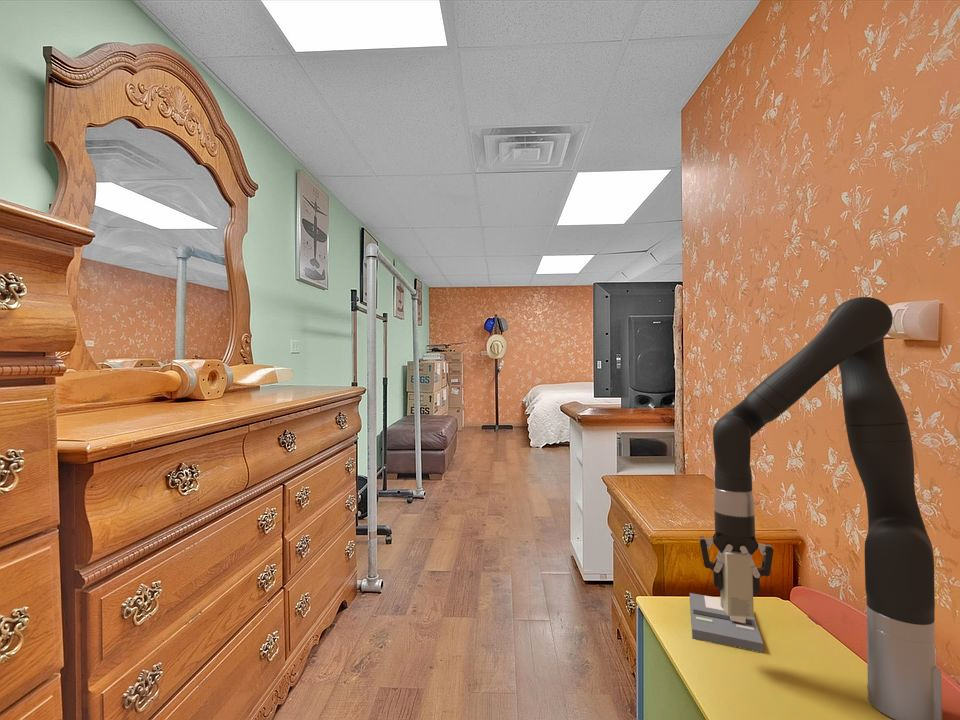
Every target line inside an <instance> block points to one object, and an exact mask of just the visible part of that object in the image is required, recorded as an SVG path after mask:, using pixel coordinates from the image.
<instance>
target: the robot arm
mask: <svg viewBox="0 0 960 720" xmlns="http://www.w3.org/2000/svg"><path fill="white" fill-rule="evenodd" d="M893 319H894V317H893V313H892V310H891V308H890V307H889V305H888V304H887V303H885V302H884V301H882V300H881V299H878V298H875V297H870V296H858V297H854V298H851V299H848V300H846V301H843V302H842V303H841V304H839V305H838V306H837V307H836V308H835V309H834V311H832V312H831V314H830V315H829V318H828V320H827V322H826V324H825V325H824V326H823V327H822V328H821V330H820V331H819V332H818V333H817V334H816V335H815V337H813V338H812V339H811V340H810V341H809V342H808V343H807V344H806V345H805V346H804V347H803V348H802V349H801V350H799V351H798V352H797V353H796V354H795V355H794V356H792V357H791V358H790V359H789V360H788V361H786V362H785V363H783V364H782V365H781V366H780V367H778V368H777V369H776V370H774V371H773V372H772V373H770V375H768V376H767V377H766V378H765V379H764V380H763V381H761V382H760V383H759V384H758V385H757V386H755V387H754V389H752V390H751V391H750V392H749V393H748V394H747V395H746V397H745V398H744V399H743V400H742V401H740V402H739V403H738V404H736V405H735V406H734V407H733V408H731V409H730V410H729V411H727V412H726V413H725V414H724V415H722V416H721V418H719V419H718V420H717V421H716V422H715V424H714V426H713V429H712V443H713V452H714V453H713V454H714V460H715V461H714V462H715V463H714V496H713V509H714V515H713V516H714V534H713V536H712V537H704V536H699V545H700V549H701V555H702V560H703V561H702V562H703V566H704V567H705V569H709V570H711V571H712V576H713V577H712V578H713V579H712V580H713V581H712V583H713V586H714V588H716V589H717V591H721V572H720V570H721V568H722V566H723V564H724V563H725V553H724V552H731V551H734V552H742V554H746V555H750V554H751V555H752V556H753V555H754V554H755V552H756V551H757V550H758V549H759V552H760V554H761V555H762V560H761V561H762V562H761V566H760V567H757V565H756V564H755V562H754V560H753V557H752V558H751V556H750V567H752V571H753V597H754V596H755V597H757V594H760V593H761V583H760V581H761V580H760V579H761V578H762V577H764V576H765V577H770V575H771V571H772V563H773V557H774V549H773V546H772V545H771V544H770V543H761V542H758V541H757V538H756V525H755V524H756V522H755V521H756V520H755V519H756V518H755V517H756V515H755V499H754V494H753V475H752V468H751V447H752V446H751V444H752V442H751V441H752V437H753V436H755V435H756V434H757V433H759V431H760V430H761V429H763V428H764V427H765V426H766V425H767V424H768V423H769V424H770V423H771V422H773V421H774V420H776V419H777V418H779V417H780V416H781V415H783V414H784V413H785V412H786V411H787V410H789V409H790V408H791V407H792V406H793V405H794V404H795V403H797V402H798V401H799V400H800V399H801V398H802V397H803V396H804V395H806V394H807V393H808V391H810V390H811V389H812V388H813V387H814V386H815V385H816V384H817V383H818V382H819V381H821V380H822V379H823V378H824V377H825V376H826V375H828V373H830V372H831V371H832V370H833V369H835V367H838V368H839V372H840V379H841V394H842V395H841V396H842V405H843V406H842V407H843V412H844V422H845V423H844V425H845V428H846V429H845V430H846V434H847V439H848V440H847V441H848V445H849V449H850V453H851V456H852V459H853V462H854V466H855V467H856V470H857V473H858V476H859V478H860V480H861V483H862V486H863V487H864V488H863V489H864V493H865V498H866V505H867V507H866V508H867V527H868V528H867V534H866V538H865V542H864V580H865V581H864V586H865V588H864V589H865V595H866V646H867V647H866V652H867V653H866V655H867V656H866V658H867V659H866V663H867V664H866V665H867V668H866V670H867V685H866V686H867V687H866V688H867V699H868V702H869V703H870V704H871V705H872V707H874V708H875V709H876V710H878V711H880V713H882V714H884V715H885V716H887V717H889V718H891V719H893V720H943V699H942V698H943V697H942V694H943V692H942V691H943V689H942V688H943V687H942V685H943V684H942V680H943V679H942V671H941V668H940V667H938V665H937V664H936V639H935V638H936V633H935V631H936V629H935V628H936V627H935V626H936V625H935V624H936V623H935V622H936V621H935V620H936V619H935V616H936V615H935V613H936V612H935V611H936V610H935V609H936V598H935V597H936V596H935V595H936V594H935V556H934V548H933V544H932V541H931V539H930V536H929V534H928V532H927V529H926V526H925V523H924V520H923V518H922V514H921V510H920V507H919V503H918V501H917V500H918V499H917V496H916V488H915V460H914V459H915V457H914V449H913V448H914V447H913V442H912V435H911V430H910V425H909V423H908V422H909V421H908V417H907V413H906V410H905V407H904V404H903V402H902V400H901V398H900V395H899V393H898V392H897V389H896V387H895V385H894V383H893V381H892V379H891V377H890V374H889V371H888V370H889V369H888V367H887V362H886V353H885V343H884V342H885V341H884V338H885V337H886V336H887V335H888V333H889V332H890V331H891V328H892V325H893V322H894V321H893ZM713 544H714V546H715V547H716V548H717V550H718V553H717V555H716V558H715V559H714V561H711V560H710V556H709V555H710V554H709V551H708V550H710V549H711V547H712V545H713ZM720 552H721V555H720Z"/></svg>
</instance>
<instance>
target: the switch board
mask: <svg viewBox="0 0 960 720" xmlns="http://www.w3.org/2000/svg"><path fill="white" fill-rule="evenodd" d="M689 609H690V610H689V611H690V621H691V626H690V627H691V638H692V639H694V640H699V641H705V642H709V643H712V644H713V643H715V644H718V645H723V646H727V645H729V646H728V647H732V646H736V647H735V648H737V647H741V648H740V649H742V648H745V649H744V650H746V649H750V650H749V651H751V650H754V651H753V652H756V651H758V652H757V653H761V652H762V653H761V654H764V642H763V639H762V636H761V633H760V630H759V627H758V623H757V621H756V618H755V616H754V617H746V623H741V622H736V621H731V619H730V616H729V615H728V614H727V613H726V612H725V611H724V610H723V608H722V607H721V597H716V596H709V595H705V594H704V595H703V594H697V593H692V592H689Z"/></svg>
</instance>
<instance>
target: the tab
mask: <svg viewBox="0 0 960 720" xmlns="http://www.w3.org/2000/svg"><path fill="white" fill-rule="evenodd" d="M730 619H731V621H736V622H741V623H746V617H740V616H730Z"/></svg>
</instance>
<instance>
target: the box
mask: <svg viewBox="0 0 960 720" xmlns="http://www.w3.org/2000/svg"><path fill="white" fill-rule="evenodd" d="M724 553H725V563H724V564H723V566H722V568H721V570H720V572H721V591H720V598H721V607H722V608H723V610H724V611H725V612H726V613H727V614H728V615H729V616H740V617H754V618H755V615H754V596H753V571H752V567H750V556H751V558H752V559H753V554H752V555H751V554H750V555H746V554H742V552H734V551H731V552H724ZM720 555H721V552H720Z"/></svg>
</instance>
